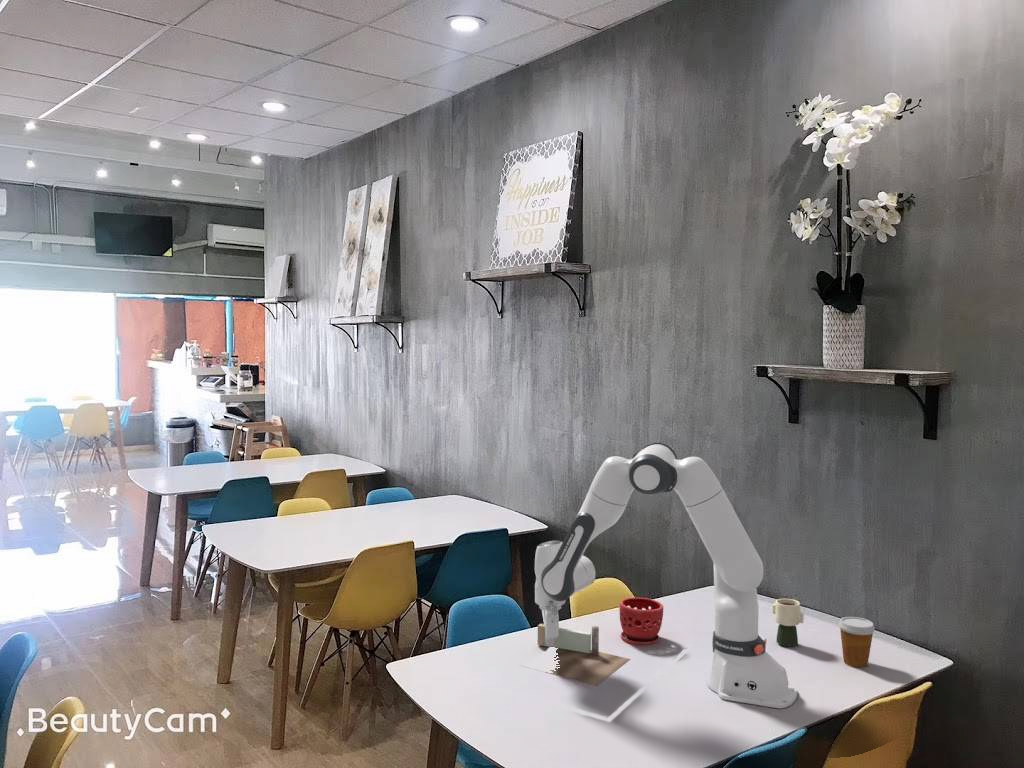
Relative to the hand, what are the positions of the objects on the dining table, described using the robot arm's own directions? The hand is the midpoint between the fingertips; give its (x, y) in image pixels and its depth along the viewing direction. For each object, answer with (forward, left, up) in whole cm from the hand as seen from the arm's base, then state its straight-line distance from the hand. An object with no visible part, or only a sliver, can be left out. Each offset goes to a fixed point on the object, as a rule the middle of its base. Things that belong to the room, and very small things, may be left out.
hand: (550, 643), depth 234 cm
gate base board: (-10, +3, -4) cm, 11 cm away
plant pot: (-18, -24, -4) cm, 30 cm away
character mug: (-56, -46, -4) cm, 73 cm away
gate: (-2, -4, -2) cm, 5 cm away
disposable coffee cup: (-76, -42, -4) cm, 87 cm away
